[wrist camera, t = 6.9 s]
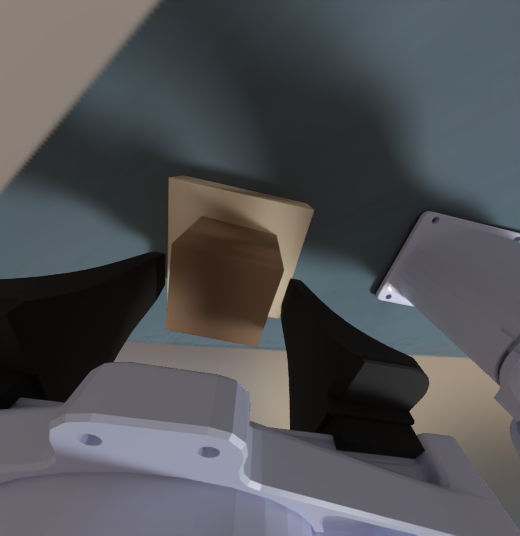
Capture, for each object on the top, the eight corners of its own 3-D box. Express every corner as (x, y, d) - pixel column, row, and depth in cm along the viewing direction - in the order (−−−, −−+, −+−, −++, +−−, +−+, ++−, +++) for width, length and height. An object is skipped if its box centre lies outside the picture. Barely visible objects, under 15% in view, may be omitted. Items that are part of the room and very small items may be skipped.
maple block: (304, 201, 16) (314, 210, 13) (276, 297, 20) (278, 318, 17) (185, 174, 15) (168, 177, 12) (180, 280, 19) (167, 299, 16)
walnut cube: (276, 235, 14) (284, 270, 9) (257, 295, 16) (256, 346, 11) (201, 216, 13) (171, 243, 9) (193, 280, 15) (165, 329, 11)
